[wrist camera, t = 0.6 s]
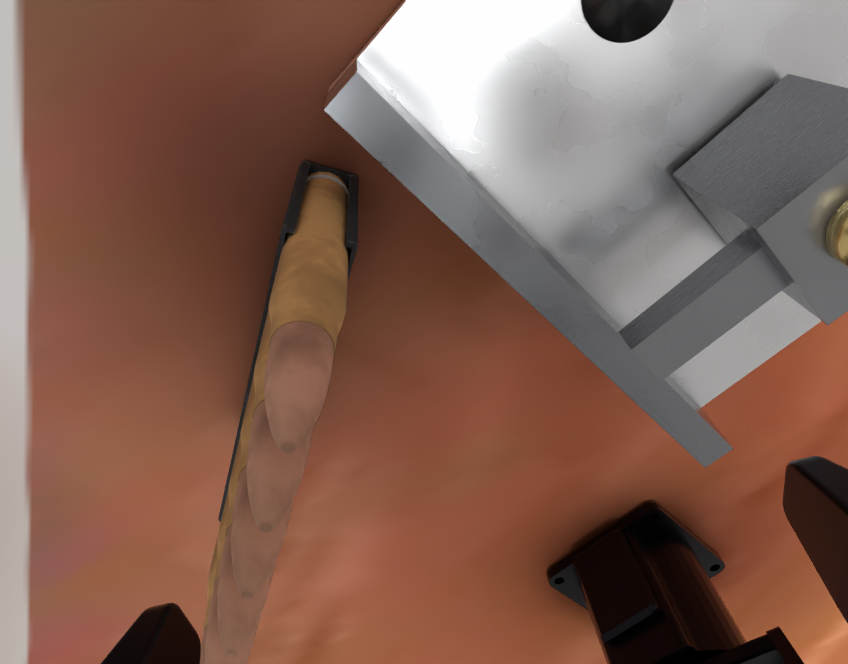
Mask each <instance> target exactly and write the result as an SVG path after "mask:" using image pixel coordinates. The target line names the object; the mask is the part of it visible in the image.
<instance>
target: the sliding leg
mask: <svg viewBox="0 0 848 664" xmlns="http://www.w3.org/2000/svg"><path fill="white" fill-rule="evenodd" d="M672 175H673V176H674V177H675V179H676V180H677V181H678V183H679V184H680V185H681V186H682V188H683V189H684V190H685V191H686V193H687V194H688V195H689V197H690V198H691V199H692V200H693V202H694V203H695V204H696V205H697V207H698V208H699V209H700V210H701V212H702V213H703V214H704V216H705V217H706V218H707V219H708V221H709V222H710V223H711V224H712V226H713V227H714V228H715V230H716V231H717V232H718V233H719V235H720V236H721V237H722V238H723V240H724V241H725V242H726V244H727V245H726V246H725V247H723V248H722V249H721V250H720V251H718V252H717V253H716V254H715V255H713V256H712V257H711V258H710V259H708V260H707V261H706V262H705V263H703V264H702V265H701V266H700V267H698V268H697V269H696V270H695V271H693V272H692V273H691V274H690V275H688V276H687V277H686V278H685V279H684V280H682V281H681V282H680V283H679V284H677V285H676V286H675V287H674V288H672V289H671V290H670V291H669V292H667V293H666V294H665V295H664V296H662V297H661V298H660V299H659V300H657V301H656V302H655V303H654V304H652V305H651V306H650V307H649V308H647V309H646V310H645V311H644V312H642V313H641V314H640V315H639V316H637V317H636V318H635V319H634V320H632V321H631V322H630V323H629V324H628V325H626V326H625V327H624V328H623V329H621V330H620V331H619V334H620V335H621V336H622V338H623V339H624V341H625V342H626V343H627V345H628V346H629V348H630V349H631V350H632V351H633V352H634V353H635V354H636V355H637V356H638V357H639V358H640V359H641V360H642V361H643V362H644V363H645V364H646V365H647V366H648V367H649V368H650V369H651V370H652V371H653V372H654V373H655V374H656V375H657V376H658V377H659V378H660V379H661V380H664V379H665V378H666V377H668V376H669V375H670V374H672V373H673V372H674V371H676V370H677V369H678V368H680V367H681V366H682V365H684V364H685V363H686V362H688V361H689V360H690V359H692V358H693V357H694V356H696V355H697V354H698V353H700V352H701V351H702V350H704V349H705V348H706V347H708V346H709V345H710V344H711V343H713V342H714V341H715V340H717V339H718V338H719V337H721V336H722V335H723V334H725V333H726V332H727V331H729V330H730V329H731V328H733V327H734V326H735V325H737V324H738V323H739V322H741V321H742V320H743V319H745V318H746V317H747V316H749V315H750V314H751V313H753V312H754V311H755V310H757V309H758V308H759V307H761V306H762V305H763V304H765V303H766V302H767V301H769V300H770V299H771V298H773V297H774V296H775V295H777V294H778V293H779V292H781V291H783V292H784V293H786V294H787V295H788V296H789V297H791V298H792V299H793V300H795V301H796V302H797V303H799V304H800V305H801V306H803V307H804V308H805V309H807V310H808V311H809V312H811V313H812V314H813V315H815V316H816V317H817V318H819V319H820V320H821V321H822V322H824V323H825V324H826V325H829V324H830V323H831V322H833V321H834V320H836V319H837V318H838V317H840V316H841V315H843V314H844V313H845V312H847V311H848V88H845V87H841V86H837V85H832V84H828V83H824V82H820V81H816V80H812V79H808V78H804V77H800V76H796V75H791V74H787V75H786V76H785V77H784V78H782V79H781V80H780V81H779V82H778V83H777V84H775V85H774V86H773V87H772V88H771V89H770V90H769V91H767V92H766V93H765V94H764V95H763V96H762V97H761V98H759V99H758V100H757V101H756V102H755V103H754V104H753V105H751V106H750V107H749V108H748V109H747V110H746V111H745V112H743V113H742V114H741V115H740V116H739V117H738V118H736V119H735V120H734V121H733V122H732V123H731V124H730V125H728V126H727V127H726V128H725V129H724V130H723V131H722V132H720V133H719V134H718V135H717V136H716V137H715V138H714V139H712V140H711V141H710V142H709V143H708V144H707V145H706V146H704V147H703V148H702V149H701V150H700V151H699V152H697V153H696V154H695V155H694V156H693V157H692V158H691V159H689V160H688V161H687V162H686V163H685V164H684V165H683V166H681V167H680V168H679V169H678V170H677V171H676V172H675V173H673V174H672Z"/></svg>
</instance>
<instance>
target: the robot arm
mask: <svg viewBox="0 0 848 664" xmlns="http://www.w3.org/2000/svg"><path fill="white" fill-rule="evenodd" d="M783 508H784V511H785V514H786V517H787V519H788V521H789V522H790V524H791V526H792V528H793V529H794V531H795V533H796V535H797V537H798V538H799V540H800V542H801V544H802V545H803V547H804V549H805V551H806V552H807V554H808V556H809V558H810V559H811V561H812V563H813V565H814V566H815V568H816V570H817V572H818V573H819V575H820V577H821V579H822V580H823V582H824V584H825V586H826V587H827V589H828V591H829V593H830V595H831V596H832V598H833V600H834V602H835V603H836V605H837V607H838V608H839V610H840V612H841V613H842V615H843V617H844V618H845V620H846V621H847V623H848V469H846V468H844V467H842V466H840V465H838V464H836V463H834V462H832V461H830V460H828V459H825V458H823V457H819V456H812V457H808V458H803V459H799V460H795V461H791V462H790V463H789V464H788V465H787V467H786V472H785V483H784V493H783ZM724 567H725V564H724V562H723V561H722V559H721V557H720V556H719V555H718V554H717V553H715V552H714V551H713V550H712V549H711V548H710V547H708V546H707V545H706V544H705V543H704V542H702V541H701V540H700V539H699V538H698V537H696V536H695V535H694V534H693V533H692V532H690V531H689V530H688V529H687V528H686V527H684V526H683V525H682V524H681V523H680V522H678V521H677V520H676V519H675V518H674V517H672V516H671V515H670V514H669V513H668V512H667V511H665V510H664V509H663V508H662V507H661V506H659V505H658V504H656V503H650V504H646V505H644V506H643V507H641V508H640V509H638V510H637V511H635V512H634V513H632V514H631V515H630V516H628V517H627V518H625V519H624V520H622V521H621V522H619V523H618V524H616V525H615V526H613V527H612V528H611V529H609V530H608V531H606V532H605V533H603V534H602V535H600V536H599V537H597V538H596V539H595V540H593V541H592V542H590V543H589V544H587V545H586V546H584V547H583V548H581V549H580V550H578V551H577V552H576V553H574V554H573V555H571V556H570V557H568V558H567V559H565V560H564V561H562V562H561V563H559V564H558V565H557V566H555V567H554V568H552V569H551V570H550V571H549V572H548V573H547V578H548V581H549V584H550V585H551V586H552V587H553V588H555V589H556V590H558V591H559V592H561V593H562V594H564V595H566V596H567V597H569V598H570V599H572V600H573V601H575V602H576V603H578V604H579V605H581V606H582V607H584V608H586V609H587V610H588V611H589V614H590V617H591V620H592V622H593V625H594V628H595V631H596V633H597V636H598V639H599V642H600V644H601V647H602V650H603V653H604V656H605V658H606V661H607V664H804V663H803V661H802V660H801V658H800V657H799V655H798V654H797V653H796V651H795V650H794V648H793V647H792V645H791V644H790V642H789V641H788V639H787V638H786V636H785V635H784V633H783V632H782V630H781V629H780V628H779V627H776V628H774V629H771V630H769V631H766V633H767V634H766V635H763V636H761V637H759V638H756V639H754V640H751V641H749V642H746V640H745V639H744V637H743V635H742V634H741V632H740V630H739V628H738V627H737V625H736V623H735V621H734V620H733V618H732V616H731V615H730V613H729V611H728V609H727V608H726V606H725V604H724V602H723V601H722V599H721V597H720V596H719V594H718V592H717V590H716V589H715V587H714V585H713V583H712V582H711V580H710V578H711V577H713V576H715V575H716V574H718V573H719V572H721V571H722V570H723V569H724ZM200 657H201V644H200V639H199V636H198V634H197V632H196V630H195V629H194V628H193V626H192V625H191V623H190V622H189V620H188V619H187V617H186V616H185V614H184V613H183V612H182V610H181V609H180V607H179V606H178V605H176V604H174V603H167V604H163V605H158V606H154V607H150V608H148V609H146V610H145V611H144V612H143V613H142V614H141V615H140V616H139V617H138V619H137V620H136V621H135V622H134V623H133V625H132V626H131V627H130V628H129V630H128V631H127V632H126V633H125V634H124V636H123V637H122V638H121V639H120V641H119V642H118V643H117V644H116V646H115V647H114V648H113V649H112V650H111V652H110V653H109V654H108V655H107V657H106V658H105V659H104V660H103V662H102V663H101V664H200Z"/></svg>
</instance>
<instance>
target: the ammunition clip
mask: <svg viewBox="0 0 848 664" xmlns="http://www.w3.org/2000/svg"><path fill="white" fill-rule="evenodd" d="M358 184H359V179H358V176H357V175H354V174H350V173H347V172H343V171H340V170H336V169H333V168H329V167H326V166H322V165H319V164H315V163H312V162H308V161H305V160H304V161H303V162H301V164H300V166H299V169H298V173H297V177H296V180H295V184H294V187H293V191H292V194H291V198H290V201H289V205H288V208H287V212H286V215H285V219H284V222H283V226H282V230H281V235H280V239H279V244H278V248H277V253H276V258H275V262H274V267H273V271H272V276H271V280H270V285H269V290H268V294H267V299H266V303H265V308H264V312H263V317H262V322H261V326H260V331H259V335H258V340H257V344H256V349H255V354H254V358H253V363H252V367H251V372H250V377H249V381H248V386H247V390H246V395H245V399H244V404H243V409H242V413H241V418H240V422H239V427H238V431H237V436H236V441H235V445H234V450H233V454H232V459H231V463H230V468H229V473H228V477H227V482H226V486H225V491H224V495H223V500H222V505H221V509H220V514H219V521H220V527H219V532H218V538H217V542H216V546H215V550H214V555H213V559H212V563H211V567H210V572H209V577H208V605H207V610H206V616H205V621H204V627H203V632H204V633H203V638H202V643H201V657H200V664H246V663H247V660H248V657H249V654H250V651H251V648H252V645H253V642H254V638H255V634H256V630H257V627H258V623H259V619H260V615H261V612H262V609H263V606H264V603H265V600H266V598H267V594H268V591H269V587H270V583H271V580H272V576H273V572H274V568H275V564H276V559H277V557H278V554H279V552H280V549H281V546H282V543H283V540H284V537H285V533H286V530H287V526H288V522H289V518H290V514H291V510H292V504H293V499H294V497H295V495H296V492H297V490H298V487H299V485H300V482H301V479H302V476H303V473H304V469H305V465H306V462H307V458H308V454H309V450H310V445H311V438H312V429H313V427H314V425H315V423H316V422H317V420H318V418H319V415H320V413H321V410H322V408H323V405H324V402H325V398H326V395H327V391H328V387H329V383H330V379H331V375H332V367H333V357H334V354H335V350H336V343H337V336H338V334H339V332H340V329H341V327H342V325H343V321H344V318H345V314H346V309H347V284H348V279H349V276H350V272H351V269H352V265H353V261H354V258H355V254H356V251H357V247H358Z"/></svg>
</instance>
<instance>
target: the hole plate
mask: <svg viewBox="0 0 848 664" xmlns="http://www.w3.org/2000/svg"><path fill="white" fill-rule="evenodd" d="M787 74H791V75H796V76H800V77H804V78H808V79H812V80H816V81H820V82H824V83H828V84H832V85H837V86H841V87H845V88H848V0H403V1H402V3H401V4H400V5H399V6H398V7H397V8H396V10H395V11H394V12H393V13H392V14H391V15H390V17H389V18H388V19H387V20H386V21H385V22H384V23H383V25H382V26H381V27H380V28H379V29H378V30H377V32H376V33H375V34H374V35H373V36H372V37H371V39H370V40H369V41H368V42H367V43H366V44H365V46H364V47H363V48H362V49H361V50H360V51H359V53H358V54H357V55H356V56H355V57H354V58H353V60H352V61H351V62H350V63H349V64H348V65H347V67H346V68H345V69H344V70H343V71H342V72H341V74H340V75H339V76H338V77H337V78H336V79H335V81H334V82H333V83H332V84H331V85H330V86H329V89H328V94H327V98H326V102H325V107H324V111H325V112H326V113H327V114H328V115H330V116H331V117H332V118H333V119H334V120H335V121H336V122H337V123H338V124H339V125H340V126H341V127H342V128H343V129H344V130H346V131H347V132H348V133H349V134H350V135H351V136H352V137H353V138H354V139H355V140H356V141H357V142H358V143H359V144H360V145H362V146H363V147H364V148H365V149H366V150H367V151H368V152H369V153H370V154H371V155H372V156H373V157H374V158H375V159H376V160H377V161H379V162H380V163H381V164H382V165H383V166H384V167H385V168H386V169H387V170H388V171H389V172H390V173H391V174H392V175H393V176H395V177H396V178H397V179H398V180H399V181H400V182H401V183H402V184H403V185H404V186H405V187H406V188H407V189H408V190H409V191H411V192H412V193H413V194H414V195H415V196H416V197H417V198H418V199H419V200H420V201H421V202H422V203H423V204H424V205H425V206H427V207H428V208H429V209H430V210H431V211H432V212H433V213H434V214H435V215H436V216H437V217H438V218H439V219H440V220H441V221H443V222H444V223H445V224H446V225H447V226H448V227H449V228H450V229H451V230H452V231H453V232H454V233H455V234H456V235H457V236H459V237H460V238H461V239H462V240H463V241H464V242H465V243H466V244H467V245H468V246H469V247H470V248H471V249H472V250H473V251H475V252H476V253H477V254H478V255H479V256H480V257H481V258H482V259H483V260H484V261H485V262H486V263H487V264H488V265H489V266H490V267H492V268H493V269H494V270H495V271H496V272H497V273H498V274H499V275H500V276H501V277H502V278H503V279H504V280H505V281H506V282H508V283H509V284H510V285H511V286H512V287H513V288H514V289H515V290H516V291H517V292H518V293H519V294H520V295H521V296H522V297H524V298H525V299H526V300H527V301H528V302H529V303H530V304H531V305H532V306H533V307H534V308H535V309H536V310H537V311H538V312H540V313H541V314H542V315H543V316H544V317H545V318H546V319H547V320H548V321H549V322H550V323H551V324H552V325H553V326H554V327H556V328H557V329H558V330H559V331H560V332H561V333H562V334H563V335H564V336H565V337H566V338H567V339H568V340H569V341H570V342H572V343H573V344H574V345H575V346H576V347H577V348H578V349H579V350H580V351H581V352H582V353H583V354H584V355H585V356H586V357H588V358H589V359H590V360H591V361H592V362H593V363H594V364H595V365H596V366H597V367H598V368H599V369H600V370H601V371H602V372H603V373H605V374H606V375H607V376H608V377H609V378H610V379H611V380H612V381H613V382H614V383H615V384H616V385H617V386H618V387H619V388H621V389H622V390H623V391H624V392H625V393H626V394H627V395H628V396H629V397H630V398H631V399H632V400H633V401H634V402H635V403H637V404H638V405H639V406H640V407H641V408H642V409H643V410H644V411H645V412H646V413H647V414H648V415H649V416H650V417H651V418H653V419H654V420H655V421H656V422H657V423H658V424H659V425H660V426H661V427H662V428H663V429H664V430H665V431H666V432H667V433H669V434H670V435H671V436H672V437H673V438H674V439H675V440H676V441H677V442H678V443H679V444H680V445H681V446H682V447H683V448H685V449H686V450H687V451H688V452H689V453H690V454H691V455H692V456H693V457H694V458H695V459H696V460H697V461H698V462H699V463H701V464H702V465H703V466H704V467H705V468H706V467H707V466H708V465H710V464H711V463H713V462H714V461H716V460H717V459H719V458H720V457H722V456H723V455H725V454H726V453H728V452H729V451H730V450H732V449H733V448H732V446H731V445H730V444H729V442H728V441H727V440H726V439H725V437H724V436H723V435H722V434H721V432H720V431H719V430H718V428H717V427H716V426H715V425H714V423H713V422H712V421H711V420H710V418H709V417H708V416H707V414H706V413H705V412H704V411H703V409H702V408H701V407H703V406H704V405H705V404H707V403H708V402H709V401H711V400H712V399H714V398H715V397H716V396H718V395H719V394H721V393H722V392H723V391H725V390H726V389H728V388H729V387H730V386H732V385H733V384H734V383H736V382H737V381H739V380H740V379H741V378H743V377H744V376H746V375H747V374H748V373H750V372H751V371H753V370H754V369H755V368H757V367H758V366H759V365H761V364H762V363H764V362H765V361H766V360H768V359H769V358H771V357H772V356H773V355H775V354H776V353H778V352H779V351H780V350H782V349H783V348H785V347H786V346H787V345H789V344H790V343H791V342H793V341H794V340H796V339H797V338H798V337H800V336H801V335H803V334H804V333H805V332H807V331H808V330H810V329H811V328H812V327H814V326H815V325H816V324H818V323H819V322H821V320H820V319H819V318H817V317H816V316H815V315H813V314H812V313H811V312H809V311H808V310H807V309H805V308H804V307H803V306H801V305H800V304H799V303H797V302H796V301H795V300H793V299H792V298H791V297H789V296H788V295H787V294H786V293H784V292H783V291H781V292H779V293H778V294H777V295H775V296H774V297H773V298H771V299H770V300H769V301H767V302H766V303H765V304H763V305H762V306H761V307H759V308H758V309H757V310H755V311H754V312H753V313H751V314H750V315H749V316H747V317H746V318H745V319H743V320H742V321H741V322H739V323H738V324H737V325H735V326H734V327H733V328H731V329H730V330H729V331H727V332H726V333H725V334H723V335H722V336H721V337H719V338H718V339H717V340H715V341H714V342H713V343H711V344H710V345H709V346H708V347H706V348H705V349H704V350H702V351H701V352H700V353H698V354H697V355H696V356H694V357H693V358H692V359H690V360H689V361H688V362H686V363H685V364H684V365H682V366H681V367H680V368H678V369H677V370H676V371H674V372H673V373H672V374H670V375H669V376H668V377H666V378H665V379H664V380H661V379H660V378H659V377H658V376H657V375H656V374H655V373H654V372H653V371H652V370H651V369H650V368H649V367H648V366H647V365H646V364H645V363H644V362H643V361H642V360H641V359H640V358H639V357H638V356H637V355H636V354H635V353H634V352H633V351H632V350H631V349H630V348H629V346H628V345H627V343H626V342H625V341H624V339H623V338H622V336H621V335H620V334H619V331H620V330H621V329H623V328H624V327H625V326H626V325H628V324H629V323H630V322H631V321H632V320H634V319H635V318H636V317H637V316H639V315H640V314H641V313H642V312H644V311H645V310H646V309H647V308H649V307H650V306H651V305H652V304H654V303H655V302H656V301H657V300H659V299H660V298H661V297H662V296H664V295H665V294H666V293H667V292H669V291H670V290H671V289H672V288H674V287H675V286H676V285H677V284H679V283H680V282H681V281H682V280H684V279H685V278H686V277H687V276H688V275H690V274H691V273H692V272H693V271H695V270H696V269H697V268H698V267H700V266H701V265H702V264H703V263H705V262H706V261H707V260H708V259H710V258H711V257H712V256H713V255H715V254H716V253H717V252H718V251H720V250H721V249H722V248H723V247H725V246H726V245H727V244H726V242H725V241H724V240H723V238H722V237H721V236H720V235H719V233H718V232H717V231H716V230H715V228H714V227H713V226H712V224H711V223H710V222H709V221H708V219H707V218H706V217H705V216H704V214H703V213H702V212H701V210H700V209H699V208H698V207H697V205H696V204H695V203H694V202H693V200H692V199H691V198H690V197H689V195H688V194H687V193H686V191H685V190H684V189H683V188H682V186H681V185H680V184H679V183H678V181H677V180H676V179H675V177H674V176H673V175H672V174H673V173H675V172H676V171H677V170H678V169H679V168H680V167H681V166H683V165H684V164H685V163H686V162H687V161H688V160H689V159H691V158H692V157H693V156H694V155H695V154H696V153H697V152H699V151H700V150H701V149H702V148H703V147H704V146H706V145H707V144H708V143H709V142H710V141H711V140H712V139H714V138H715V137H716V136H717V135H718V134H719V133H720V132H722V131H723V130H724V129H725V128H726V127H727V126H728V125H730V124H731V123H732V122H733V121H734V120H735V119H736V118H738V117H739V116H740V115H741V114H742V113H743V112H745V111H746V110H747V109H748V108H749V107H750V106H751V105H753V104H754V103H755V102H756V101H757V100H758V99H759V98H761V97H762V96H763V95H764V94H765V93H766V92H767V91H769V90H770V89H771V88H772V87H773V86H774V85H775V84H777V83H778V82H779V81H780V80H781V79H782V78H784V77H785V76H786V75H787Z"/></svg>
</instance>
